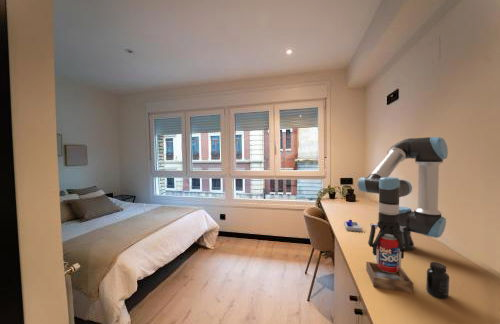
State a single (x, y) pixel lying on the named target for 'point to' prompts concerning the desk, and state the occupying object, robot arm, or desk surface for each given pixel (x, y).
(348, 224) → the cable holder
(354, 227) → the grey desk tray
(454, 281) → the desk surface
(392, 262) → the soda can
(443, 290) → the supplement bottle
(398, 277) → the walnut box
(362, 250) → the desk surface
